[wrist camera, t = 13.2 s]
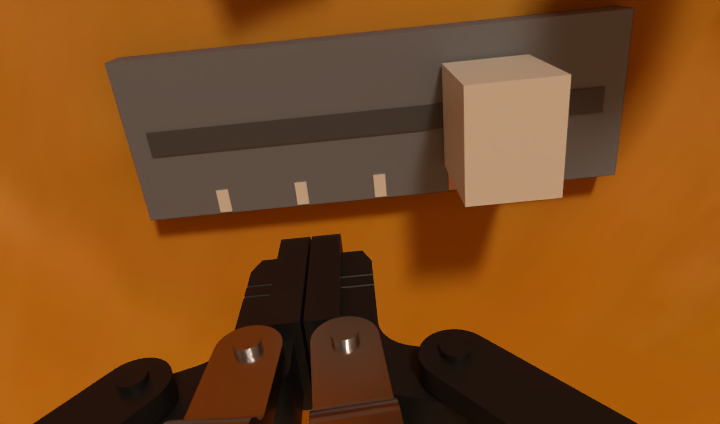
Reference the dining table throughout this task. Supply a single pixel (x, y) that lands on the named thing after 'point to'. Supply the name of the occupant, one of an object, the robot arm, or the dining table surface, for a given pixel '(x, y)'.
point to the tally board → (347, 110)
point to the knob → (505, 128)
